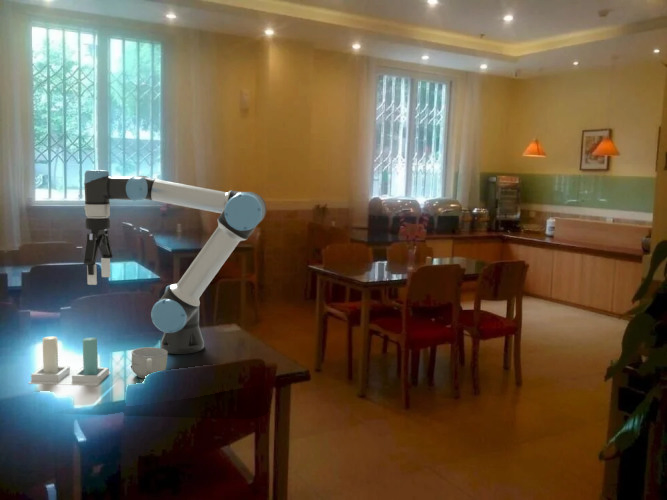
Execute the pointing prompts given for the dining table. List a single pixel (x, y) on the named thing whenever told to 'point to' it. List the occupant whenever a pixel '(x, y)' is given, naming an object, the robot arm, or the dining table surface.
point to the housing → (68, 377)
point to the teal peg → (90, 356)
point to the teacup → (148, 360)
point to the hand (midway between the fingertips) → (99, 280)
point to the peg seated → (50, 355)
